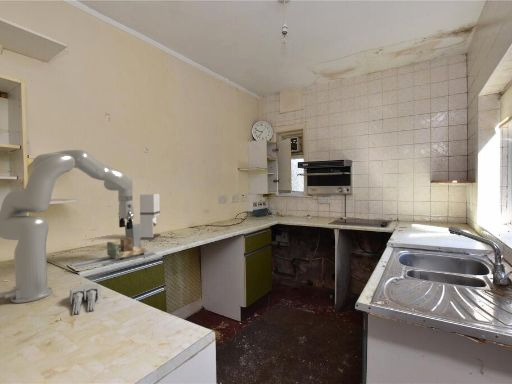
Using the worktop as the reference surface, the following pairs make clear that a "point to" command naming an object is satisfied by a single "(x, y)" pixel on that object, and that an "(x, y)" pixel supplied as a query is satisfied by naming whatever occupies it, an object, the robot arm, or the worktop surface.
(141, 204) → the white square column
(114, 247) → the multicoloured piece
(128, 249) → the walnut block
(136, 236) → the skincare box
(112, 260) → the rail track
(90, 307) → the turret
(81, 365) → the worktop surface
